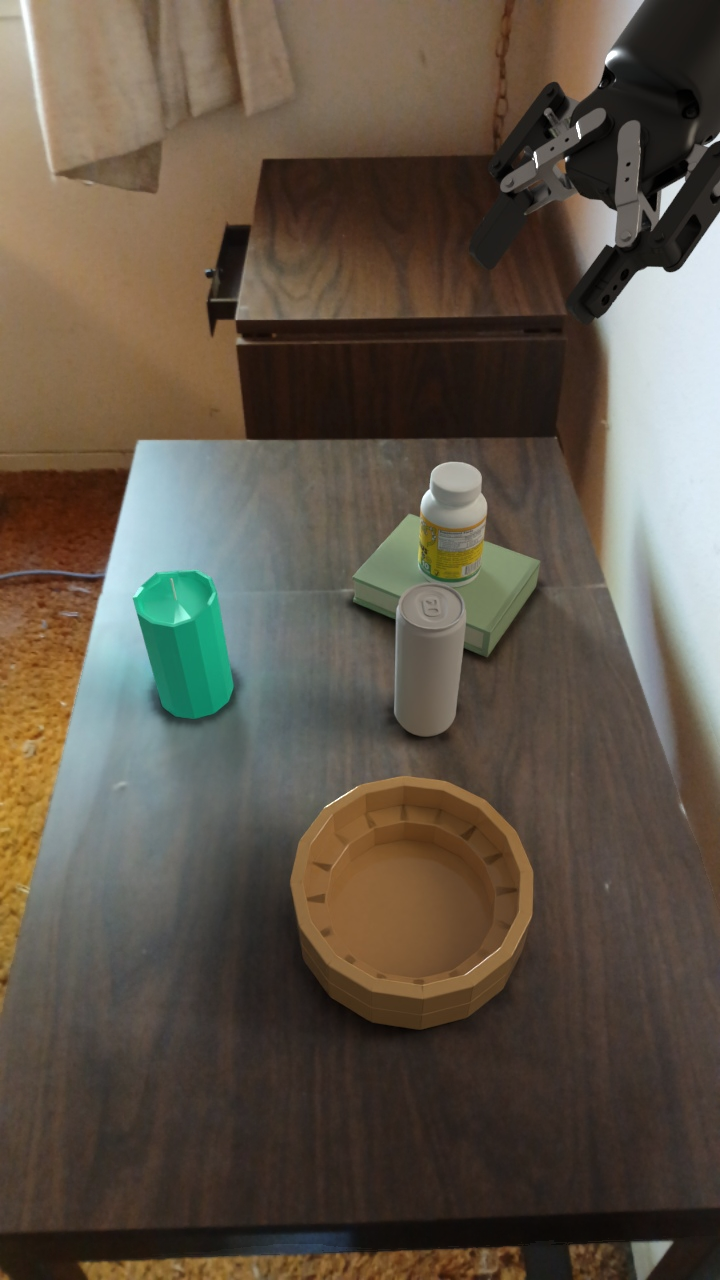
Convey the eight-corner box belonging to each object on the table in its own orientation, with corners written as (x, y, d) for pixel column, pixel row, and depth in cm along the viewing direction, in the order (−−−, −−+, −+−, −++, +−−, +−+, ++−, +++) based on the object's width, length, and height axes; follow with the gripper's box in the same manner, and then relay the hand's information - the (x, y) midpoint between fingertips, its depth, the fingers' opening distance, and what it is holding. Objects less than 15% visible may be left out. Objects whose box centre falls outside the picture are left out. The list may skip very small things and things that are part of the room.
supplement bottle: (480, 591, 74) (491, 499, 67) (416, 588, 75) (420, 495, 68) (480, 549, 78) (490, 457, 71) (418, 546, 78) (423, 454, 71)
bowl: (558, 879, 59) (570, 840, 56) (459, 1079, 51) (465, 1048, 47) (370, 785, 65) (370, 744, 61) (252, 952, 56) (243, 915, 52)
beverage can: (451, 690, 71) (462, 579, 62) (460, 738, 67) (472, 628, 59) (391, 694, 71) (393, 582, 62) (396, 742, 67) (399, 632, 59)
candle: (247, 675, 72) (230, 564, 63) (208, 729, 68) (184, 619, 60) (184, 653, 74) (159, 542, 65) (143, 704, 70) (110, 593, 61)
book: (536, 586, 79) (540, 561, 77) (487, 657, 73) (490, 632, 71) (408, 538, 84) (409, 513, 82) (352, 602, 78) (352, 576, 76)
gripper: (592, -52, 49) (416, 212, 53) (811, -6, 41) (584, 302, 45) (640, 46, 55) (479, 277, 59) (840, 103, 47) (637, 367, 51)
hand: (524, 287), depth 52 cm, fingers open, 8 cm apart
